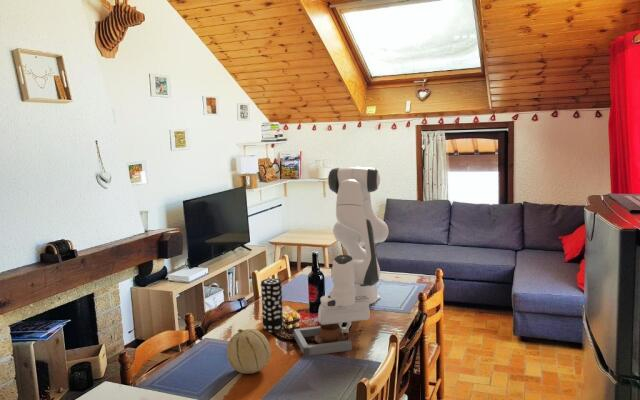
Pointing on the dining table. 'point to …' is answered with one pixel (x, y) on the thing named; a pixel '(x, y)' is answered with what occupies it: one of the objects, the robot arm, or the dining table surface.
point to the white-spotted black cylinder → (272, 305)
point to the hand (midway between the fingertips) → (344, 332)
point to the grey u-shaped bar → (318, 348)
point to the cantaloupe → (248, 351)
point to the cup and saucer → (329, 334)
